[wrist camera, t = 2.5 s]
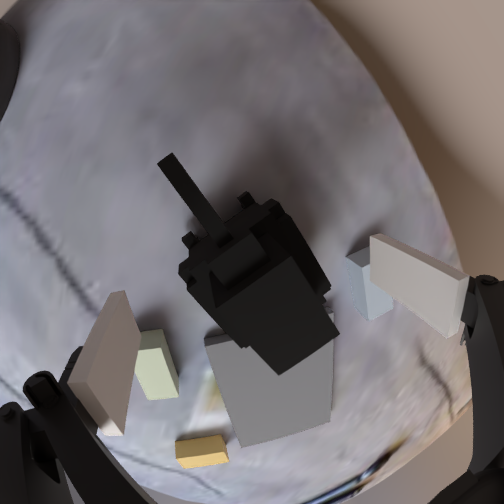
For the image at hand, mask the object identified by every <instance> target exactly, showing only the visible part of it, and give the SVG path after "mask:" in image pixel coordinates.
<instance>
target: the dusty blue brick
mask: <svg viewBox="0 0 504 504" xmlns="http://www.w3.org/2000/svg"><path fill="white" fill-rule="evenodd" d="M346 261H347V267H348V272H349V278H350V283H351V289H352V295H353V301H354V308H355V309H356V310H357V311H358V312H359V313H360V314H361V315H362V316H363V317H364V318H365V319H366V320H367V321H368V322H370V321H371V320H373V319H375V318H377V317H379V316H381V315H382V314H384V313H386V312H388V311H389V310H391V309H393V297H391V296H390V295H389V294H387V293H386V292H385V291H383V290H382V289H381V288H379V287H378V286H376V285H375V284H374V283H372V282H371V281H370V246H368V247H366V248H364V249H362V250H359V251H357V252H355V253H353V254H351V255H348V256H346Z"/></svg>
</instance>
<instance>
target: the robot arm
mask: <svg viewBox="0 0 504 504" xmlns="http://www.w3.org/2000/svg"><path fill="white" fill-rule="evenodd" d="M19 56H20V47H19V40H18V36H17V34H16V32H15V30H14V29H13V28H12V27H11V26H10V25H8V24H7V23H5V22H4V21H2V20H0V120H1V118H2V116H3V114H4V111H5V109H6V107H7V104H8V102H9V99H10V96H11V93H12V90H13V87H14V84H15V80H16V76H17V71H18V65H19ZM370 281H371V282H372V283H374V284H375V285H376V286H378V287H379V288H381V289H382V290H383V291H385V292H386V293H387V294H389V295H390V296H391V297H393V298H394V299H396V300H397V301H398V302H400V303H401V304H402V305H404V306H405V307H406V308H408V309H409V310H410V311H412V312H413V313H414V314H416V315H417V316H418V317H419V318H421V319H422V320H423V321H425V322H426V323H427V324H429V325H430V326H431V327H432V328H434V329H435V330H436V331H438V332H439V333H440V334H441V335H443V336H444V337H445V338H446V339H447V338H449V337H451V336H452V335H454V334H456V333H457V332H458V329H459V325H460V321H463V322H464V323H465V327H464V331H463V335H462V338H461V341H460V345H462V344H463V341H464V340H465V341H466V343H465V345H466V347H467V353H468V360H469V368H470V377H471V387H472V401H473V456H472V460H471V462H470V465H469V467H468V469H467V472H465V473H464V474H463V475H462V476H460V477H459V478H458V479H457V480H455V481H454V482H453V483H451V484H450V485H449V486H447V487H446V488H445V489H443V490H442V491H441V492H440V493H439V494H437V496H435V497H434V498H433V499H432V500H431V501H430V502H429V503H428V504H504V281H499V280H498V279H496V278H495V277H493V276H490V275H479V276H477V277H476V278H473V277H471V276H469V275H467V274H465V273H463V272H461V271H460V270H458V269H456V268H454V267H452V266H450V265H448V264H446V263H444V262H442V261H440V260H437V259H435V258H433V257H431V256H429V255H427V254H425V253H423V252H421V251H419V250H417V249H414V248H412V247H410V246H408V245H406V244H404V243H401V242H399V241H397V240H395V239H392V238H390V237H388V236H386V235H383V234H381V233H379V234H375V235H371V236H370ZM141 337H142V336H141V333H140V331H139V328H138V326H137V323H136V321H135V318H134V316H133V313H132V310H131V308H130V305H129V302H128V299H127V297H126V294H125V291H124V290H123V291H118V292H113V293H111V294H110V295H109V297H108V299H107V301H106V303H105V305H104V307H103V308H102V310H101V312H100V314H99V316H98V318H97V320H96V322H95V324H94V326H93V328H92V330H91V332H90V334H89V336H88V338H87V340H86V342H85V344H84V346H79V347H78V348H77V349H76V350H75V351H74V352H73V353H72V355H71V357H70V359H69V361H68V364H67V365H66V367H65V370H64V371H63V373H62V376H61V378H60V380H59V382H57V381H56V379H55V378H54V376H53V374H51V373H50V372H49V371H40V372H37V373H35V374H33V375H32V376H31V377H29V378H28V379H27V381H26V382H25V383H24V386H23V393H24V394H25V395H26V397H27V398H28V399H29V401H30V402H31V404H32V405H33V406H34V407H35V408H33V409H29V410H26V411H24V410H23V409H22V408H21V406H20V405H19V404H18V403H17V402H8V403H7V404H4V405H3V406H2V407H1V408H0V504H74V503H73V500H72V497H71V494H70V491H69V487H68V484H67V480H66V477H65V473H64V470H65V472H66V474H67V475H68V477H69V479H70V480H71V482H72V484H73V486H74V487H75V489H76V490H77V492H78V494H79V495H80V497H81V498H82V500H83V501H84V503H85V504H157V502H155V501H154V500H153V499H152V498H151V497H150V496H149V495H148V494H147V493H146V492H145V491H144V490H143V489H142V488H141V487H140V486H139V485H138V483H137V482H136V481H135V480H134V479H133V478H132V477H131V476H130V475H129V474H128V473H127V471H126V470H125V469H124V468H123V467H122V466H121V465H120V463H119V462H118V461H117V460H116V459H115V457H114V456H113V455H112V454H111V452H110V451H109V450H108V449H107V447H106V446H105V445H104V444H103V442H102V441H101V440H100V438H99V437H98V436H97V435H96V434H97V429H98V427H99V428H100V429H101V431H102V432H103V433H104V434H105V436H121V435H124V430H125V422H126V416H127V409H128V403H129V397H130V391H131V386H132V380H133V375H134V370H135V365H136V360H137V355H138V350H139V346H140V341H141ZM63 468H64V469H63Z"/></svg>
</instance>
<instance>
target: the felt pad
mask: <svg viewBox="0 0 504 504" xmlns="http://www.w3.org/2000/svg"><path fill="white" fill-rule="evenodd" d="M324 309H325V310H326V312H327V313H328V315H329V317H330V318H331V320H332V322H333V323H334V312H333V311H332V310H331V309H330V308H329V307H325V308H324ZM204 343H205V348H206V351H207V355H208V358H209V361H210V364H211V367H212V370H213V373H214V376H215V379H216V381H217V384H218V387H219V390H220V393H221V396H222V398H223V401H224V404H225V407H226V409H227V412H228V415H229V417H230V420H231V423H232V425H233V428H234V430H235V433H236V436H237V438H238V441H239V443H240V446H241V448H243V447H247V446H251V445H256V444H260V443H264V442H268V441H271V440H275V439H278V438H282V437H285V436H289V435H292V434H295V433H298V432H302V431H305V430H308V429H311V428H313V427H316V426H319V425H322V424H325V423H327V422H330V415H331V400H332V381H333V349H334V339H333V340H331V341H330V342H328V343H327V344H326V345H324V346H323V347H321V348H320V349H319V350H317V351H316V352H314V353H313V354H311V355H310V356H308V357H307V358H305V359H304V360H302V361H301V362H299V363H298V364H296V365H295V366H293V367H292V368H290V369H289V370H287V371H286V372H284V373H283V374H281V375H279V376H278V375H277V374H276V373H275V372H274V371H273V370H272V369H271V368H270V367H269V366H268V365H267V364H266V363H265V362H264V360H263V359H262V358H261V357H260V356H259V355H258V354H257V353H256V352H255V351H254V350H253V349H252V348H251V347H250V346H249V347H247V348H245V347H243V348H242V349H241V348H240V347H239V346H238V345H237V344H236V343H235V342H234V341H233V340H232V339H231V338H230V337H229V335H228V334H223V335H219V336H214V337H210V338H205V339H204Z"/></svg>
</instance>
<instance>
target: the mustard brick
mask: <svg viewBox="0 0 504 504" xmlns="http://www.w3.org/2000/svg"><path fill="white" fill-rule="evenodd" d="M175 451H176V459H177V461H178V462H179V463H180V464H181V466H182V467H183V468H184V469H185V468H194V467H201V466H208V465H214V464H220V463H226V462H229V458H228V453H227V448H226V445H225V442H224V440H223V438H222V436H221V434H220V435H214V436H209V437H203V438H197V439H190V440H183V441H175Z"/></svg>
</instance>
